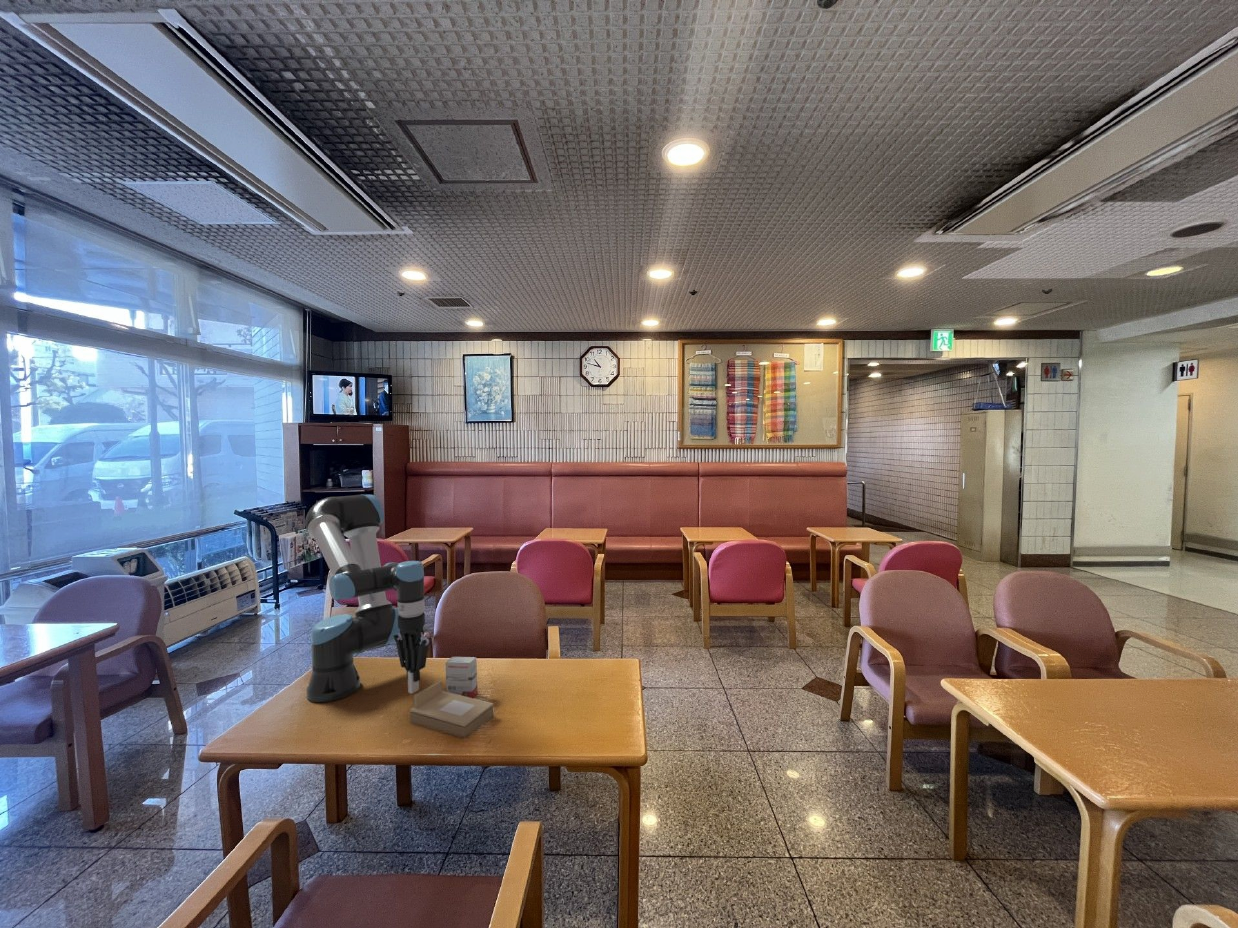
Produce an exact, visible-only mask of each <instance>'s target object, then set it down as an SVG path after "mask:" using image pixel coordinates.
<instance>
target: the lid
mask: <svg viewBox="0 0 1238 928" xmlns="http://www.w3.org/2000/svg"><path fill="white" fill-rule="evenodd" d="M492 706H493V707H494V703H492V702H489V701H484V700H481V699H477V698H469V697H465V696H462V695H458V694H454V693H450V692H447V690H446V691H445V690H443V681H442V680H438V681H436V682H435V683H433V684H431V685H430V686H428V687H426V688H424V689H423V690H421V691H419V692H418V693H416V694H414V695H413V707H411V708H410V709H409V713H410V712H414V713H418V714H421V715H425V716H428V717H432V718H435V719H439V720H442V721H446V722H449V723H453V724H456V725H460V726H463V727H465V726H467V725H468V724H469V723H471V722H472V721H473V720H475V719H476V718H477V717H479V716H480V715H481V714H483V713H484V712H485V711H487V710H488V709H489V708H490V707H492Z"/></svg>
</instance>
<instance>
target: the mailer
mask: <svg viewBox="0 0 1238 928" xmlns="http://www.w3.org/2000/svg"><path fill="white" fill-rule="evenodd" d="M409 717H410V718H409V720H410V722H409V723H410V724H414V725H417V726H420V727H424V728H426V729H431V730H433V731H438V732H441V733H445V734H447V735H450V736H454V737H457V738H460V739H464V740H466V739H467V738H468V737H469V736H471V735H472V734H473V733H475V732H476V731H477V730H479V728H480V727H482V726H483V725H484V724H486V723H487V722H489V720H491V719H492V718H493V717H494V705H493V706H492V707H490V708H489V709H488V710H487V711H485V712H484V713H483V714H481V715H480V716H479V717H477V718H476V719H475V720H473V721H472V722H471V723H469V724H468V725H467V726H465V727H463V726H460V725H456V724H453V723H449V722H446V721H442V720H439V719H435V718H432V717H428V716H425V715H421V714H418V713H414V712H410V711H409Z"/></svg>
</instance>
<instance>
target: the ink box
mask: <svg viewBox="0 0 1238 928" xmlns="http://www.w3.org/2000/svg"><path fill="white" fill-rule="evenodd" d="M477 662H478V661H477V657H476V656H475V657H474V656H472V657H471V656H451V657H450V658H449V659H448V660H447V661H446V662H445V684H446V685H445V686H446V689H445V690H446V692H450V693H454V694H458V695H462V696H465V697H469V698H473V699H475V697H476V695H477V694H478V691H479V690H478V672H477V671H478V666H477V665H478V663H477Z"/></svg>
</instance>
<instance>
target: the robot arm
mask: <svg viewBox="0 0 1238 928" xmlns="http://www.w3.org/2000/svg"><path fill="white" fill-rule="evenodd" d="M384 516H385V512H384V507H383V504H382V502H381V501H380V499H379V498H378V497H377V496H376V495H374V494H362V493H361V494H356V495H345V496H343V495H342V496H329V497H325V498H322V499H320V500H319V501H317V502H316V503H315V504H313V505H312V507H310V509H309V510H308V512H307V514H306V517H305V521H304V523H305V529H306V531H307V533H308V536H309V537H311V538H313V539H314V540H315V541H316V544H317V546H318V548H319V550H320V552H321V554H322V556H323V559H324V560H325V562H326V564H327V566H328V569H329V570H330V573H331V577H330V578H329V581H328V582H329V584H328V585H329V586H328V588H329V592H330V596H331V598H332V600H335V601H343V600H351V599H353V598H357V600H358V607H357V609H356V610H355V611H354V615H355V616H354V617H352V616H353V615H350V614H346V613H345V614H344V613H343V614H338V615H333V616H329V617H326V618H324V619H322V620H321V621H318V622H317V623H316V624H315V625H314V626H313V627H312V628H311V635H310V636H311V637H310V644H311V668H312V669H311V670H312V671H311V676H310V678H309V681H308V686H307V688H306V698H307V700H308V701H310V702H311V703H327V702H334V701H337V700H340V699H344V698H346V697H348V696H351V695H352V694H354V693H355V692H357V691H358V690H359V689H360V687H361V678H360V675H359V672H358V670H357V668H356V666H355V662H354V655H356V654H359V653H363V652H366V651H371V650H374V649H377V648H381V647H386V646H388V645H390V644H393V643H396V649H397V653H398V659H399V663H400V667H401V668H405V671H406V680H407V689H408V690H407V692H408V694H414V693H415V692H418V691H419V690H420V680H421V677H420V676H421V672H420V671H421V670H422V669H424V668H426V665H427V664H426V663H427V660H428V659H427V658H428V651H429V646H430V643H431V642H432V639H431V637H426V635H425V631H424V626H425V624H426V614H425V610H426V608H425V605H426V604H425V603H426V602H425V572H424V564H423V563H422V561H420V560H407V561H406V560H405V561H402V562H400V563H399V562H387V563H385V564H384V565H381V558H380V551H379V544H378V539H377V533H378V531H380V525H382V524H383V523H384V519H385V517H384ZM342 532H343V533H342ZM345 537H346V538H348V540H349V544H348V541H347V540H346V538H345ZM392 590H395V591H396V596H397V597H396V598H397V599H396V600H397V601H396V602H397V607H393V603H392V602H391V601H389V600H387V599H388V598H387V597H386V592H388V591H392Z"/></svg>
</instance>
